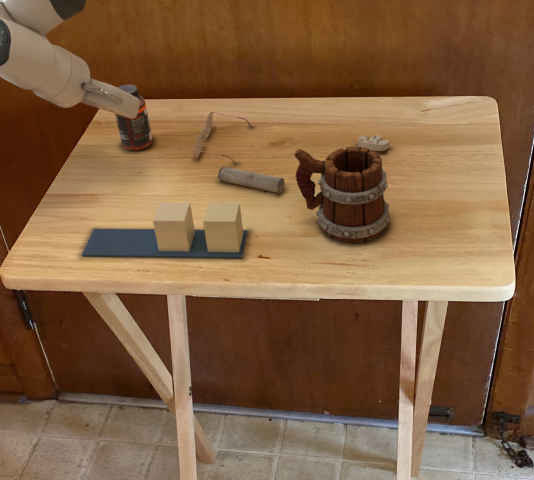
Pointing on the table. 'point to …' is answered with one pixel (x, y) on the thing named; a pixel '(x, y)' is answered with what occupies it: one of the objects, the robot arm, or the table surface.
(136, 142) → the supplement bottle
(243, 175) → the rod
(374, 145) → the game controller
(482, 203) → the table surface
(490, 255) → the table surface
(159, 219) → the cream block
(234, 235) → the cream block
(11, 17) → the robot arm
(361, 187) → the mug
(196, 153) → the eyeglasses
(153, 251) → the line strip
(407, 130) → the table surface
